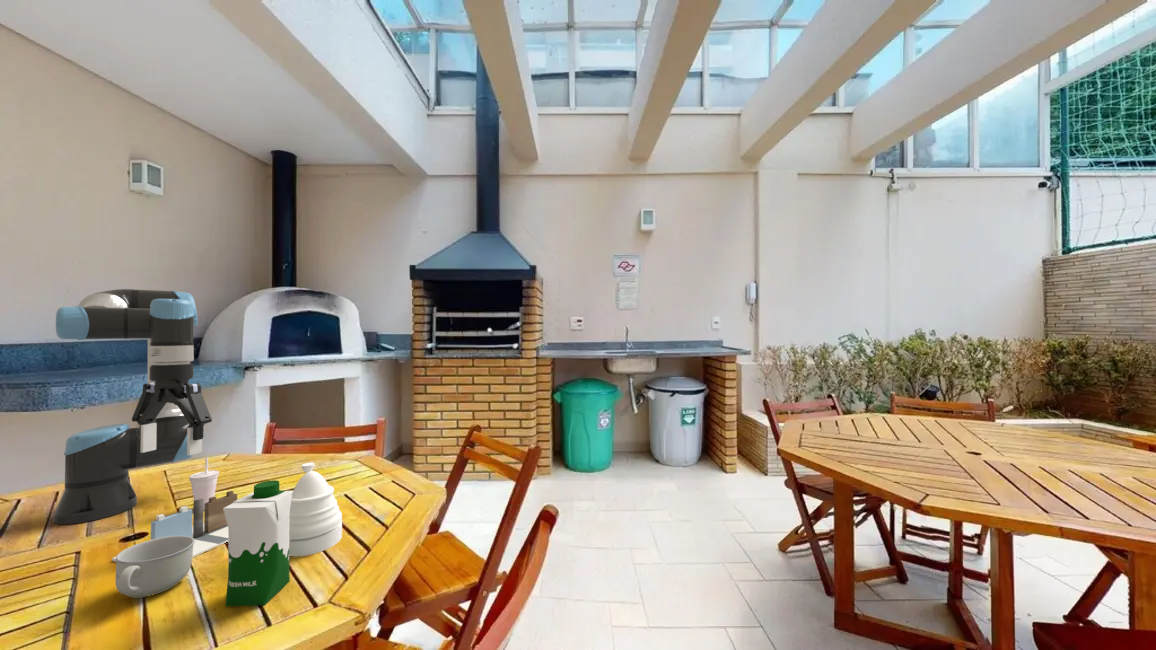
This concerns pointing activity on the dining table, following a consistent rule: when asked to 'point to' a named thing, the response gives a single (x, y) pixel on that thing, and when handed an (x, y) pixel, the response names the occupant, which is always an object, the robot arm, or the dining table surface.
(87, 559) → the dining table surface
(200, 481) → the smoothie
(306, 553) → the honey pot
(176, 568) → the teacup
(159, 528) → the fence panel
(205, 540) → the card
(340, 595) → the dining table surface
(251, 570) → the milk carton
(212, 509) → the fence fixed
